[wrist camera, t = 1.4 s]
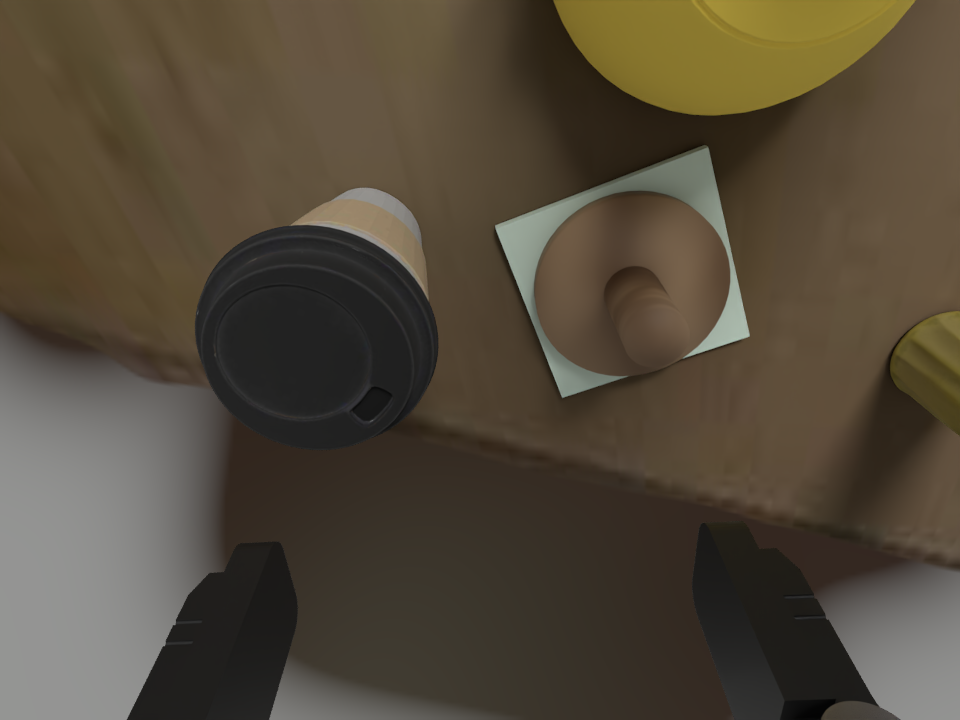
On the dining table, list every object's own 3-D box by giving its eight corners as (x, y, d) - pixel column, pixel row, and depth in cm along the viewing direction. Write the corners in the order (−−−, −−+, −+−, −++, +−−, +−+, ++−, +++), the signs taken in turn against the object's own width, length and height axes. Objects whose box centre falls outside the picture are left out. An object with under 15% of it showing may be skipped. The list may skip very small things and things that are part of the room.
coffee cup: (435, 325, 40) (413, 484, 27) (280, 295, 39) (178, 444, 26) (465, 173, 36) (457, 273, 22) (291, 135, 35) (176, 216, 21)
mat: (704, 144, 35) (708, 147, 34) (746, 331, 40) (749, 336, 40) (495, 225, 37) (495, 228, 36) (561, 392, 42) (562, 397, 42)
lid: (700, 159, 35) (748, 193, 28) (739, 332, 40) (787, 392, 33) (507, 233, 37) (512, 279, 30) (567, 389, 41) (582, 456, 35)
